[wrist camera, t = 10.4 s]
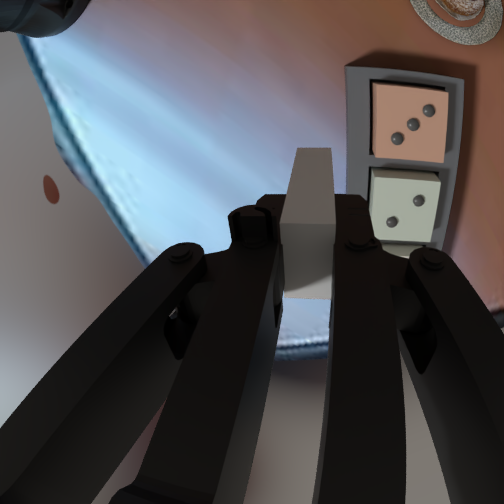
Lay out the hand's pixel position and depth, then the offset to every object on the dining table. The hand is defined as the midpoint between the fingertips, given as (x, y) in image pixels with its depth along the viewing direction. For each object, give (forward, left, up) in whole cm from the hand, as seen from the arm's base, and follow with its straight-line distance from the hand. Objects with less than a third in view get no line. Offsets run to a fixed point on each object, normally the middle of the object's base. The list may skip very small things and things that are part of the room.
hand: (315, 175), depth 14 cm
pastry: (+16, +15, -22) cm, 31 cm away
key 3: (+9, 0, -20) cm, 21 cm away
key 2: (+9, -9, -20) cm, 23 cm away
